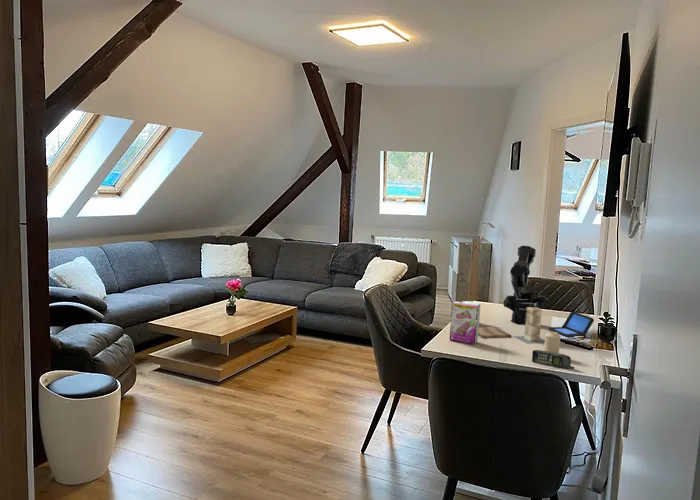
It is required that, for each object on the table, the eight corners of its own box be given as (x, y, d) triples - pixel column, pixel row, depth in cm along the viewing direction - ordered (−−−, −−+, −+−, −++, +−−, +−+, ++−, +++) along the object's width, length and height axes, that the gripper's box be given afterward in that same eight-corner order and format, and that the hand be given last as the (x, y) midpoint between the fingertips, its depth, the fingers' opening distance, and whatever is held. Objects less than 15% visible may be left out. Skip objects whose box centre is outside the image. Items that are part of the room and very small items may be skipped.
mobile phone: (531, 350, 202) (574, 357, 194) (533, 348, 204) (575, 355, 196) (531, 363, 202) (573, 370, 194) (533, 361, 205) (574, 368, 197)
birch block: (533, 338, 237) (536, 307, 236) (539, 340, 233) (541, 309, 231) (524, 338, 236) (526, 307, 235) (530, 341, 232) (532, 309, 230)
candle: (541, 354, 213) (543, 329, 212) (554, 354, 213) (556, 330, 212) (547, 358, 207) (549, 333, 206) (561, 358, 208) (563, 333, 207)
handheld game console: (546, 330, 255) (548, 311, 254) (570, 329, 258) (572, 310, 257) (568, 339, 240) (570, 319, 239) (593, 338, 243) (595, 318, 242)
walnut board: (495, 329, 251) (495, 327, 250) (511, 337, 237) (511, 334, 237) (468, 330, 247) (468, 327, 247) (482, 338, 234) (482, 335, 234)
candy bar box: (449, 340, 227) (451, 302, 226) (452, 338, 232) (454, 301, 230) (475, 344, 223) (478, 306, 221) (477, 342, 227) (480, 304, 225)
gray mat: (536, 336, 242) (536, 335, 242) (552, 343, 230) (552, 343, 230) (512, 336, 239) (512, 336, 239) (527, 344, 227) (527, 343, 227)
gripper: (508, 277, 238) (518, 307, 228) (546, 278, 241) (558, 307, 231) (498, 292, 246) (508, 321, 236) (535, 292, 250) (546, 321, 240)
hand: (530, 317), depth 236 cm, fingers open, 9 cm apart
